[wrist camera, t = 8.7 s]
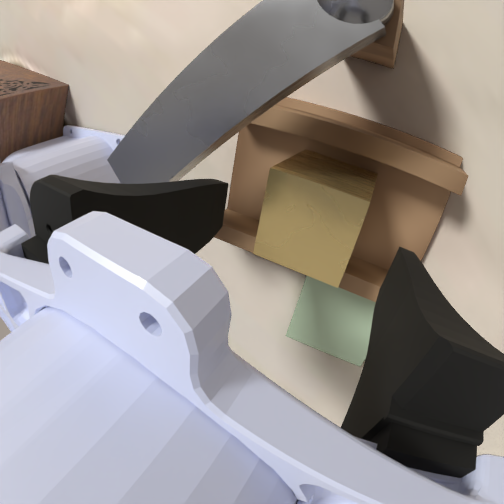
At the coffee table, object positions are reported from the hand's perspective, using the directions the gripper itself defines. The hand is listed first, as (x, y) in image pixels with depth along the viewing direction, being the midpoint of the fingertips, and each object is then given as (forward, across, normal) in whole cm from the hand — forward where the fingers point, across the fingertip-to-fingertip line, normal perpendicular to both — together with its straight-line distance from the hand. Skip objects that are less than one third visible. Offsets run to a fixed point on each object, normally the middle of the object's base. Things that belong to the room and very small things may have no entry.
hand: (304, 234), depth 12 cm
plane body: (+6, 0, -3) cm, 7 cm away
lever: (0, +4, -5) cm, 6 cm away
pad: (+6, -3, +8) cm, 10 cm away
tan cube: (+6, 0, 0) cm, 6 cm away
